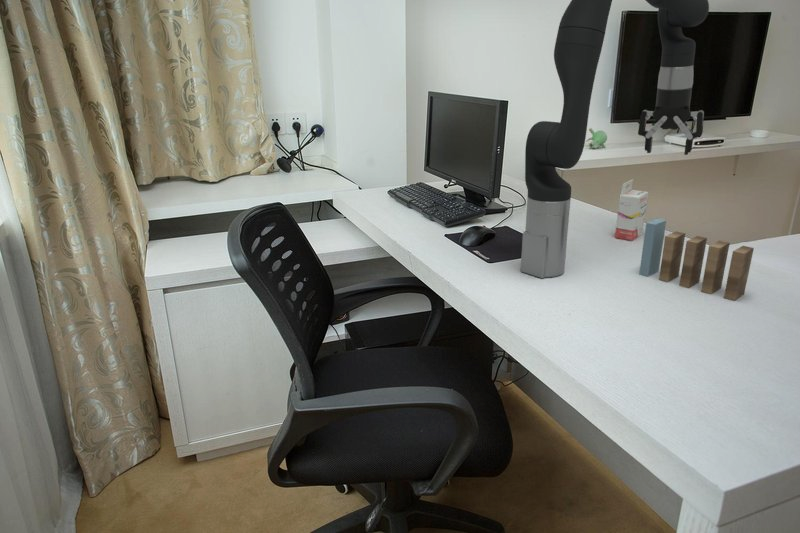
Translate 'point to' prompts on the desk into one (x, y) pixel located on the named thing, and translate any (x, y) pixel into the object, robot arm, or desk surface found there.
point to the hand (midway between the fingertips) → (667, 153)
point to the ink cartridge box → (631, 212)
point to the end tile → (652, 247)
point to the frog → (597, 139)
